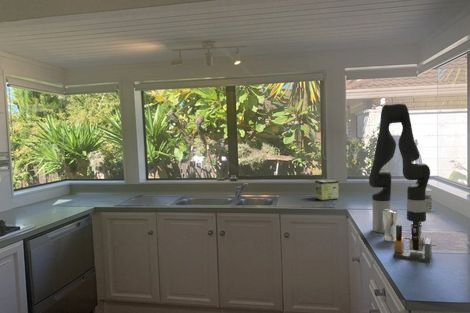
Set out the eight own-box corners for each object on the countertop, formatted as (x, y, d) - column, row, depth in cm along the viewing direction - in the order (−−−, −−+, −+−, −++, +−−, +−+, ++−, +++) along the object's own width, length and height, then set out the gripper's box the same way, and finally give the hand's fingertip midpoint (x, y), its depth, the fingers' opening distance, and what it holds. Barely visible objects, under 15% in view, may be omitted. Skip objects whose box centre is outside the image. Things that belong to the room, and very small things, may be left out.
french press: (435, 211, 241) (435, 174, 239) (416, 211, 243) (416, 174, 242) (430, 208, 251) (430, 172, 249) (412, 208, 253) (412, 172, 251)
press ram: (396, 247, 166) (396, 223, 166) (403, 248, 165) (403, 224, 164) (394, 251, 160) (394, 227, 160) (401, 252, 159) (401, 228, 158)
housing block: (410, 246, 162) (410, 235, 162) (423, 248, 159) (423, 236, 159) (409, 249, 158) (409, 238, 158) (422, 251, 155) (422, 239, 155)
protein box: (315, 199, 298) (314, 180, 297) (331, 197, 303) (331, 179, 302) (321, 201, 288) (321, 182, 287) (338, 199, 293) (338, 180, 292)
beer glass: (381, 240, 182) (381, 211, 181) (384, 237, 188) (384, 208, 187) (396, 242, 178) (396, 212, 177) (399, 239, 184) (399, 209, 183)
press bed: (397, 249, 168) (397, 233, 168) (431, 253, 161) (431, 237, 161) (393, 257, 158) (393, 240, 158) (429, 262, 151) (429, 244, 150)
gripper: (408, 205, 166) (408, 242, 167) (404, 212, 153) (404, 251, 155) (427, 207, 162) (427, 244, 163) (424, 213, 150) (424, 254, 151)
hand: (416, 247), depth 159 cm, fingers closed on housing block, 5 cm apart
